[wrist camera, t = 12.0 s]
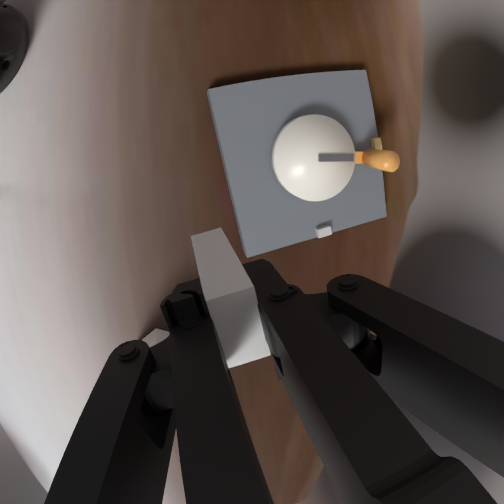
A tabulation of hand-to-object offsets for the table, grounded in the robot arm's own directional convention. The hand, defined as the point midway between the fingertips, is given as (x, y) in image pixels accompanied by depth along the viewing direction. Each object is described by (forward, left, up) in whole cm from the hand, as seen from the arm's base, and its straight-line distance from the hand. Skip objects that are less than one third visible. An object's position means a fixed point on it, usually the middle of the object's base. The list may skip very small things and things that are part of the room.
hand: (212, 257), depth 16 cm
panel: (0, +16, -26) cm, 31 cm away
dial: (0, +18, -24) cm, 30 cm away
